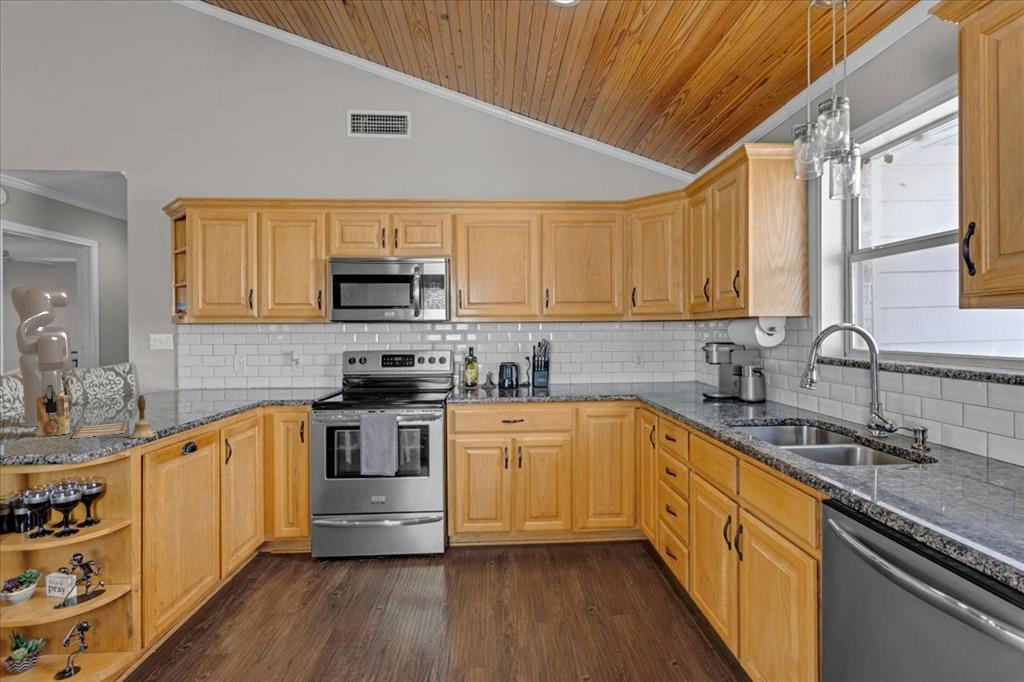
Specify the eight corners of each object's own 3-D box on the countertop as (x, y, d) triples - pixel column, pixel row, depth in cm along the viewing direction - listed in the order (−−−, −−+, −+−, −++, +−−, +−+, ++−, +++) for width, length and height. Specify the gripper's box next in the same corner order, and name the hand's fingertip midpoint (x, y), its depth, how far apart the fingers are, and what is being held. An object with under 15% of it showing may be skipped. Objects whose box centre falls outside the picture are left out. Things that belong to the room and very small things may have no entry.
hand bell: (160, 434, 213) (158, 393, 212) (146, 438, 205) (144, 396, 204) (138, 434, 213) (137, 393, 212) (124, 439, 205) (122, 397, 204)
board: (79, 429, 224) (79, 426, 223) (127, 425, 232) (126, 421, 232) (72, 439, 205) (72, 435, 205) (124, 433, 214) (124, 430, 214)
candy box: (70, 433, 217) (68, 395, 216) (65, 435, 213) (64, 396, 212) (42, 435, 213) (41, 396, 213) (37, 437, 210) (35, 397, 209)
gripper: (42, 367, 217) (44, 409, 217) (34, 369, 202) (36, 414, 203) (66, 365, 221) (68, 407, 221) (60, 367, 207) (62, 412, 207)
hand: (53, 411), depth 212 cm, fingers open, 9 cm apart
